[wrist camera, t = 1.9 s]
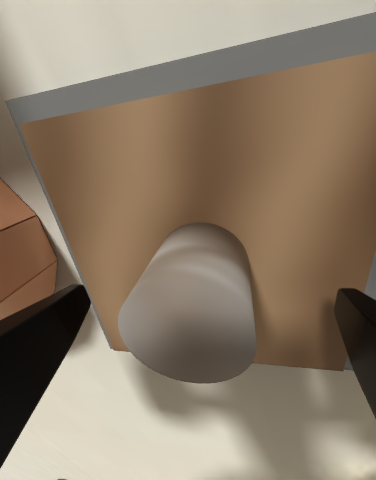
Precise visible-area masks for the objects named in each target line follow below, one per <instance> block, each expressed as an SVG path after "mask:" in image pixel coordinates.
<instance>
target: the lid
mask: <svg viewBox="0 0 376 480" xmlns="http://www.w3.org/2000/svg"><path fill="white" fill-rule="evenodd" d="M19 126H20V128H21V131H22V133H23V135H24V138H25V140H26V142H27V145H28V147H29V150H30V152H31V154H32V157H33V159H34V162H35V164H36V166H37V169H38V171H39V173H40V176H41V178H42V181H43V183H44V185H45V188H46V190H47V193H48V195H49V197H50V200H51V202H52V204H53V207H54V209H55V212H56V214H57V216H58V219H59V221H60V224H61V226H62V228H63V231H64V233H65V235H66V238H67V240H68V243H69V245H70V247H71V250H72V252H73V254H74V257H75V259H76V262H77V264H78V266H79V269H80V271H81V274H82V276H83V278H84V281H85V283H86V285H87V288H88V290H89V293H90V295H91V297H92V300H93V302H94V305H95V307H96V309H97V312H98V314H99V316H100V319H101V321H102V324H103V326H104V328H105V331H106V333H107V336H108V338H109V340H110V343H111V345H112V347H113V350H115V351H126V352H131V353H132V354H133V355H134V356H135V357H136V358H137V359H138V360H140V361H141V362H142V363H143V364H145V365H146V366H148V367H149V368H151V369H152V370H154V371H156V372H158V373H160V374H162V375H165V376H167V377H170V378H173V379H176V380H180V381H184V382H190V383H217V382H222V381H226V380H229V379H231V378H234V377H236V376H238V375H239V374H241V373H242V372H243V371H245V370H246V369H247V368H248V367H249V365H250V364H251V363H258V364H269V365H280V366H291V367H302V368H313V369H324V370H335V371H343V370H344V367H345V363H346V359H347V355H348V354H347V351H346V348H345V345H344V342H343V339H342V336H341V333H340V330H339V327H338V324H337V321H336V318H335V315H334V306H335V301H336V296H337V291H338V289H340V288H355V289H358V290H359V291H361V292H363V293H364V292H365V288H366V284H367V281H368V277H369V273H370V269H371V266H372V262H373V258H374V254H375V251H376V51H374V52H369V53H365V54H360V55H355V56H350V57H345V58H340V59H335V60H330V61H325V62H321V63H316V64H311V65H306V66H301V67H296V68H291V69H286V70H281V71H276V72H272V73H267V74H262V75H257V76H252V77H247V78H242V79H237V80H232V81H228V82H223V83H218V84H213V85H208V86H203V87H198V88H193V89H188V90H183V91H179V92H174V93H169V94H164V95H159V96H154V97H149V98H144V99H139V100H135V101H130V102H125V103H120V104H115V105H110V106H105V107H100V108H95V109H91V110H86V111H81V112H76V113H71V114H66V115H61V116H56V117H51V118H46V119H42V120H37V121H32V122H27V123H22V124H19Z"/></svg>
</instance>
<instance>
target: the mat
mask: <svg viewBox="0 0 376 480" xmlns="http://www.w3.org/2000/svg"><path fill="white" fill-rule="evenodd" d="M374 51H376V12H374V13H370V14H366V15H362V16H358V17H354V18H350V19H345V20H341V21H337V22H333V23H329V24H325V25H320V26H316V27H312V28H308V29H304V30H300V31H295V32H291V33H287V34H283V35H279V36H275V37H270V38H266V39H262V40H258V41H254V42H250V43H245V44H241V45H237V46H233V47H229V48H225V49H220V50H216V51H212V52H208V53H204V54H200V55H195V56H191V57H187V58H183V59H179V60H175V61H170V62H166V63H162V64H158V65H154V66H150V67H145V68H141V69H137V70H133V71H129V72H125V73H120V74H116V75H112V76H108V77H104V78H100V79H95V80H91V81H87V82H83V83H79V84H75V85H70V86H66V87H62V88H58V89H54V90H50V91H45V92H41V93H37V94H33V95H29V96H25V97H20V98H16V99H12V100H8V101H5V102H6V104H7V107H8V109H9V111H10V114H11V116H12V118H13V121H14V123H15V126H16V128H17V130H18V133H19V135H20V137H21V140H22V142H23V144H24V147H25V149H26V151H27V154H28V156H29V158H30V161H31V163H32V165H33V168H34V170H35V172H36V175H37V177H38V179H39V182H40V184H41V186H42V189H43V191H44V194H45V196H46V198H47V201H48V203H49V205H50V208H51V210H52V212H53V215H54V217H55V219H56V222H57V224H58V226H59V229H60V231H61V233H62V236H63V238H64V240H65V243H66V245H67V247H68V250H69V252H70V254H71V257H72V259H73V262H74V264H75V266H76V269H77V271H78V273H79V276H80V278H81V280H82V283H83V285H84V287H85V288H86V291H87V293H88V295H89V298H90V300H91V304H92V306H93V308H94V311H95V313H96V315H97V318H98V320H99V322H100V325H101V327H102V330H103V332H104V334H105V337H106V339H107V341H108V344H109V346H110V348H111V349H113V347H112V345H111V343H110V340H109V338H108V336H107V333H106V331H105V328H104V326H103V324H102V321H101V319H100V316H99V314H98V312H97V309H96V307H95V305H94V302H93V300H92V297H91V295H90V293H89V290H88V288H87V285H86V283H85V281H84V278H83V276H82V274H81V271H80V269H79V266H78V264H77V262H76V259H75V257H74V254H73V252H72V250H71V247H70V245H69V243H68V240H67V238H66V235H65V233H64V231H63V228H62V226H61V224H60V221H59V219H58V216H57V214H56V212H55V209H54V207H53V204H52V202H51V200H50V197H49V195H48V193H47V190H46V188H45V185H44V183H43V181H42V178H41V176H40V173H39V171H38V169H37V166H36V164H35V162H34V159H33V157H32V154H31V152H30V150H29V147H28V145H27V142H26V140H25V138H24V135H23V133H22V131H21V128H20V126H19V124H22V123H27V122H32V121H37V120H42V119H46V118H51V117H56V116H61V115H66V114H71V113H76V112H81V111H86V110H91V109H95V108H100V107H105V106H110V105H115V104H120V103H125V102H130V101H135V100H139V99H144V98H149V97H154V96H159V95H164V94H169V93H174V92H179V91H183V90H188V89H193V88H198V87H203V86H208V85H213V84H218V83H223V82H228V81H232V80H237V79H242V78H247V77H252V76H257V75H262V74H267V73H272V72H276V71H281V70H286V69H291V68H296V67H301V66H306V65H311V64H316V63H321V62H325V61H330V60H335V59H340V58H345V57H350V56H355V55H360V54H365V53H369V52H374ZM364 294H366V295H368V296H370V297H371V298H373V299H375V300H376V251H375V254H374V258H373V262H372V266H371V269H370V273H369V277H368V281H367V284H366V288H365V292H364ZM344 370H353V368H352V365H351V363H350V360H349V357H348V355H347V359H346V363H345V367H344Z"/></svg>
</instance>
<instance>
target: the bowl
mask: <svg viewBox="0 0 376 480" xmlns="http://www.w3.org/2000/svg"><path fill="white" fill-rule="evenodd" d="M35 215H36V214H35V213H34V212H33V211H32V210H31V209H30V208H29V207H28V206H27V205H26V204H25V203H24V202H23V201H22V200H21V199H20V198H19V197H18V196H17V195H16V194H15V193H14V192H13V191H12V190H11V189H10V188H9V187H8V186H7V185H6V184H5V183H4V182H3V181H2V180H1V179H0V320H1V319H3V318H5V317H7V316H9V315H12V314H14V313H16V312H18V311H20V310H22V309H24V308H26V307H28V306H30V305H32V304H34V303H36V302H38V301H40V300H42V299H44V298H46V297H48V296H50V295H52V294H53V293H54V291H55V281H56V271H57V258H56V256H55V253H54V251H53V249H52V247H51V245H50V243H49V240H48V238H47V236H46V234H45V232H44V230H43V227H42V225H41V223H40V221H39V219H38V217H37V216H35Z"/></svg>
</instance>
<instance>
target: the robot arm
mask: <svg viewBox="0 0 376 480" xmlns="http://www.w3.org/2000/svg"><path fill="white" fill-rule="evenodd" d="M90 305H91V300H90V298H89V295H88V293H87V291H86V288H85V287H84V286H83V285H71V286H69V287H67V288H65V289H63V290H61V291H59V292H57V293H55V294H52V295H50V296H48V297H46V298H44V299H42V300H40V301H38V302H36V303H34V304H32V305H30V306H28V307H26V308H24V309H22V310H20V311H18V312H16V313H14V314H12V315H9V316H7V317H5V318H3V319H1V320H0V468H1V466H2V465H3V463H4V461H5V460H6V458H7V456H8V454H9V453H10V451H11V449H12V447H13V446H14V444H15V442H16V441H17V439H18V437H19V435H20V434H21V432H22V430H23V429H24V427H25V425H26V423H27V422H28V420H29V418H30V416H31V415H32V413H33V411H34V410H35V408H36V406H37V404H38V403H39V401H40V399H41V397H42V396H43V394H44V392H45V391H46V389H47V387H48V385H49V384H50V382H51V380H52V378H53V377H54V375H55V373H56V372H57V370H58V368H59V366H60V365H61V363H62V361H63V359H64V358H65V356H66V354H67V353H68V351H69V349H70V347H71V345H72V344H73V342H74V340H75V338H76V336H77V334H78V331H79V329H80V327H81V325H82V323H83V321H84V319H85V317H86V314H87V312H88V310H89V308H90ZM334 315H335V318H336V321H337V324H338V327H339V330H340V333H341V336H342V339H343V342H344V345H345V348H346V351H347V354H348V357H349V360H350V363H351V365H352V368H353V370H354V372H355V375H356V377H357V379H358V381H359V383H360V386H361V388H362V390H363V392H364V394H365V396H366V399H367V401H368V403H369V405H370V407H371V409H372V412H373V414H374V416H375V418H376V300H375V299H373V298H371V297H370V296H368V295H366V294H364V293H363V292H361V291H359V290H358V289H355V288H340V289H338V291H337V296H336V301H335V306H334Z"/></svg>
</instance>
